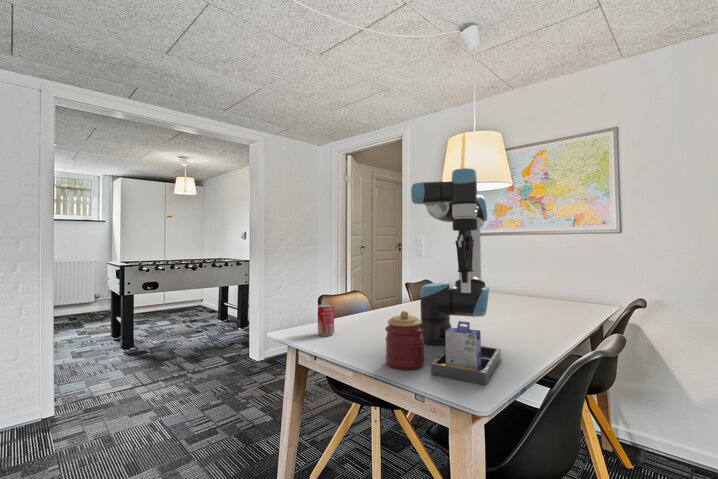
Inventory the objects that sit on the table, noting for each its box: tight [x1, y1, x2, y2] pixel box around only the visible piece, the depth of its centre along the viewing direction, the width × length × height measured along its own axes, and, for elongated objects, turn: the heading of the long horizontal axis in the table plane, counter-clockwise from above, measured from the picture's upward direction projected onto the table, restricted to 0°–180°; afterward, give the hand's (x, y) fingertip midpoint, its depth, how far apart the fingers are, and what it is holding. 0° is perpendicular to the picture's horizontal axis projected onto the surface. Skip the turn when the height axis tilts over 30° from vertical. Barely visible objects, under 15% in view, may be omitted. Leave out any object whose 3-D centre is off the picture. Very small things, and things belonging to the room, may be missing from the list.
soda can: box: [317, 303, 335, 337], centre depth 157 cm, size 7×7×13 cm
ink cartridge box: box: [445, 320, 482, 371], centre depth 111 cm, size 10×6×14 cm, turn 60°
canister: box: [385, 310, 426, 371], centre depth 120 cm, size 13×13×18 cm
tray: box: [430, 345, 502, 386], centre depth 116 cm, size 16×25×4 cm, turn 149°
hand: (465, 292), depth 113 cm, fingers closed
